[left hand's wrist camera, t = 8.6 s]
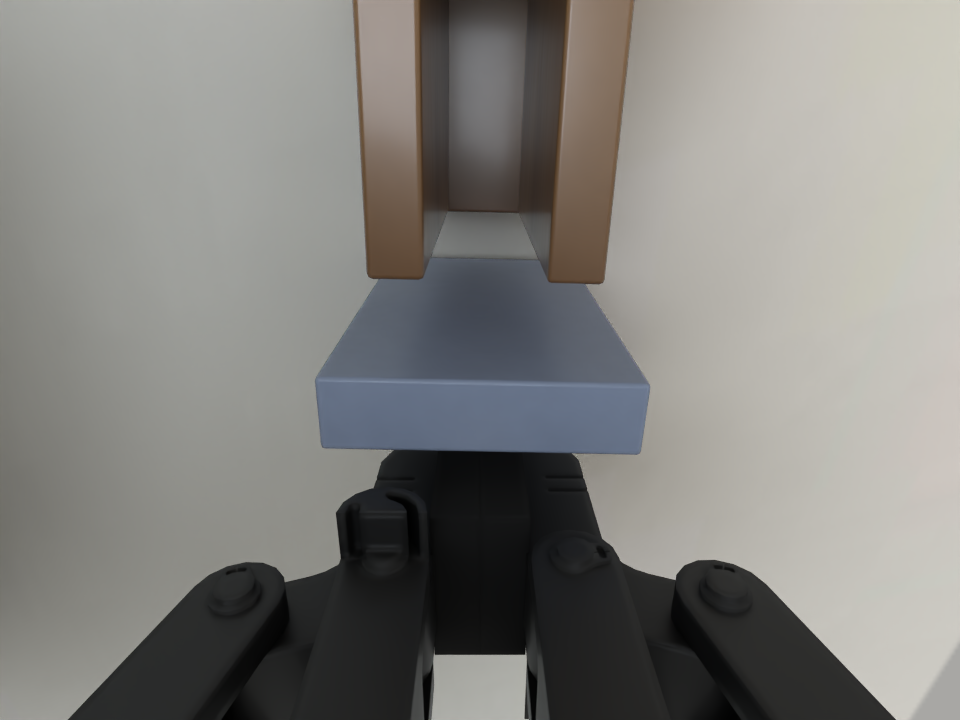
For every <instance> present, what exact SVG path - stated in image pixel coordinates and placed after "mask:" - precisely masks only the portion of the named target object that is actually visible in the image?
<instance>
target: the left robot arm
mask: <svg viewBox="0 0 960 720" xmlns="http://www.w3.org/2000/svg"><path fill="white" fill-rule="evenodd" d="M336 518H337V527H338V536H339V545H340V554H341V560H340V563H339V565H337V566H335V567H333V568H331V569H329V570H328V571H326V572H323V573H320V574H317V575H314V576H310V577H306V578H302V579H298V580H293V581H289V582H285V581H284V577H283V576H282V574H281V573H280V572H279V571H278V570H277V568H275V567H272V566H270V565H267V564H264V563H251V562H245V563H241V564H236V565H232V566H227V567H225V568H223V569H221V570H219V571H217V572H215V573H212V574H210V575H209V576H207V577H206V578H205V579H204V580H202V581H201V582H200V583H199V584H197V585H196V586H195V587H194V588H193V589H192V590H191V591H190V592H189V593H188V594H187V595H186V596H185V597H184V598H183V599H182V600H181V601H180V602H179V604H178V605H177V606H176V607H175V608H174V609H173V610H172V611H171V612H170V613H169V614H168V615H167V616H166V617H165V618H164V619H163V620H162V621H161V622H160V624H159V625H158V626H157V627H156V628H155V629H154V630H153V631H152V632H151V633H150V634H149V635H148V636H147V637H146V638H145V639H144V640H143V641H142V642H141V643H140V645H139V646H138V647H137V648H136V649H135V650H134V651H133V652H132V653H131V654H130V655H129V656H128V657H127V658H126V659H125V660H124V661H123V662H122V663H121V664H120V666H119V667H118V668H117V669H116V670H115V671H114V672H113V673H112V674H111V675H110V676H109V677H108V678H107V679H106V680H105V681H104V682H103V683H102V684H101V685H100V687H99V688H98V689H97V690H96V691H95V692H94V693H93V694H92V695H91V696H90V697H89V698H88V699H87V700H86V701H85V702H84V703H83V704H82V705H81V706H80V708H79V709H78V710H77V711H76V712H75V713H74V714H73V715H72V716H71V717H70V718H69V719H68V720H431V716H432V704H433V691H434V673H433V657H434V650H435V655H525V650H526V653H527V672H526V697H525V719H529V720H896V719H895V718H894V717H893V716H892V715H891V714H890V713H889V712H888V711H887V710H886V709H885V708H884V707H883V706H882V705H881V704H880V703H879V702H878V701H877V699H876V698H875V697H874V696H873V695H872V694H871V693H870V692H869V691H868V690H867V689H866V688H865V687H864V686H863V685H862V684H861V683H860V682H859V681H858V680H857V679H856V678H855V677H854V675H853V674H852V673H851V672H850V671H849V670H848V669H847V668H846V667H845V666H844V665H843V664H842V663H841V662H840V661H839V660H838V659H837V658H836V657H835V656H834V655H833V654H832V653H831V651H830V650H829V649H828V648H827V647H826V646H825V645H824V644H823V643H822V642H821V641H820V640H819V639H818V638H817V637H816V636H815V635H814V634H813V633H812V632H811V631H810V630H809V629H808V627H807V626H806V625H805V624H804V623H803V622H802V621H801V620H800V619H799V618H798V617H797V616H796V615H795V614H794V613H793V612H792V611H791V610H790V609H789V608H788V607H787V606H786V605H785V603H784V602H783V601H782V600H781V599H780V598H779V597H778V596H777V595H776V594H775V593H774V592H773V591H772V590H771V589H770V588H769V587H768V586H767V585H766V584H765V583H764V582H763V581H761V580H760V579H759V578H758V577H756V576H755V575H754V574H752V573H751V572H749V571H747V570H745V569H743V568H740V567H738V566H736V565H734V564H730V563H726V562H721V561H717V560H698V561H695V562H692V563H690V564H687V565H685V566H684V567H683V568H682V569H681V570H680V571H679V573H678V574H677V575H676V580H672V579H668V578H664V577H660V576H655V575H651V574H647V573H644V572H641V571H638V570H635V569H633V568H631V567H629V566H627V565H625V564H623V563H622V562H621V561H620V559H619V557H618V555H617V554H616V552H615V551H614V549H613V547H612V546H611V545H609V544H608V543H607V542H605V541H604V540H603V539H602V537H601V534H600V531H599V527H598V524H597V520H596V517H595V514H594V510H593V507H592V504H591V500H590V497H589V494H588V492H587V487H586V483H585V480H584V479H583V473H582V470H581V467H580V463H579V460H578V459H577V458H576V457H575V456H574V455H573V454H572V453H535V452H486V451H436V450H394V451H393V452H391V453H390V454H389V455H388V456H387V457H386V458H385V459H384V460H383V461H382V462H381V466H380V469H379V472H378V476H377V480H376V483H375V486H374V488H373V489H369V490H366V491H363V492H360V493H357V494H355V495H354V496H352V497H351V498H349V499H348V500H346V501H345V502H343V504H342V505H341V506H340V508H339V509H338V511H337V512H336Z"/></svg>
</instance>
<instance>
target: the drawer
mask: <svg viewBox="0 0 960 720" xmlns="http://www.w3.org/2000/svg"><path fill="white" fill-rule="evenodd" d="M633 9H634V0H353V18H354V37H355V56H356V75H357V94H358V113H359V132H360V152H361V171H362V190H363V209H364V228H365V247H366V266H367V274H368V276H369V277H370V278H372V279H379V280H378V282H377V283H376V285H375V286H374V288H373V289H372V291H371V292H370V294H369V296H368V297H367V299H366V300H365V302H364V303H363V305H362V306H361V308H360V310H359V311H358V313H357V314H356V316H355V317H354V319H353V321H352V322H351V324H350V325H349V327H348V328H347V330H346V331H345V333H344V335H343V336H342V338H341V339H340V341H339V342H338V344H337V345H336V347H335V349H334V350H333V352H332V353H331V355H330V356H329V358H328V359H327V361H326V363H325V364H324V366H323V367H322V369H321V370H320V372H319V373H318V375H317V377H316V379H315V384H316V395H317V405H318V416H319V427H320V437H321V445H322V447H323V448H336V449H386V450H436V451H486V452H535V453H585V454H635V455H637V454H639V453H640V451H641V446H642V439H643V432H644V426H645V419H646V412H647V406H648V399H649V392H650V385H649V383H648V381H647V380H646V378H645V377H644V375H643V373H642V372H641V370H640V369H639V367H638V366H637V364H636V363H635V361H634V359H633V358H632V356H631V355H630V353H629V352H628V350H627V349H626V347H625V346H624V344H623V342H622V341H621V339H620V338H619V336H618V335H617V333H616V332H615V330H614V328H613V327H612V325H611V324H610V322H609V321H608V319H607V318H606V316H605V315H604V313H603V311H602V310H601V308H600V307H599V305H598V304H597V302H596V301H595V299H594V297H593V296H592V294H591V293H590V291H589V290H588V288H587V287H586V285H585V284H601V283H603V281H604V279H605V270H606V260H607V251H608V242H609V233H610V223H611V214H612V205H613V195H614V186H615V177H616V167H617V158H618V149H619V139H620V130H621V121H622V111H623V102H624V93H625V83H626V74H627V65H628V56H629V46H630V37H631V28H632V18H633ZM447 211H457V212H499V213H519V214H520V217H521V219H522V221H523V224H524V226H525V228H526V231H527V233H528V235H529V238H530V240H531V242H532V245H533V247H534V249H535V252H536V254H537V257H538V259H539V260H513V259H469V258H431V255H432V252H433V250H434V247H435V244H436V241H437V239H438V236H439V233H440V230H441V228H442V225H443V222H444V219H445V217H446V214H447Z"/></svg>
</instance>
